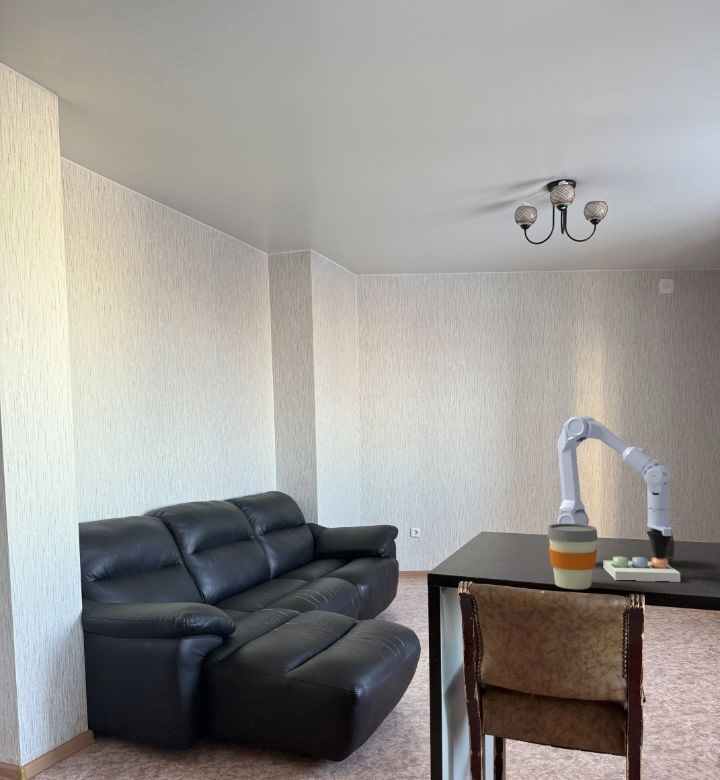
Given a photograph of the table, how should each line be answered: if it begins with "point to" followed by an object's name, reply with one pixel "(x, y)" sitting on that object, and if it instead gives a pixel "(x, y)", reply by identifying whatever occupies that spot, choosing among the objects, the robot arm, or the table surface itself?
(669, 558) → the alarm clock
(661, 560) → the terracotta button
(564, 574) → the reusable coffee cup
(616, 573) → the panel
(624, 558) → the sage button
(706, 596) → the table surface
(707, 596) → the table surface
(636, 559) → the slate button
